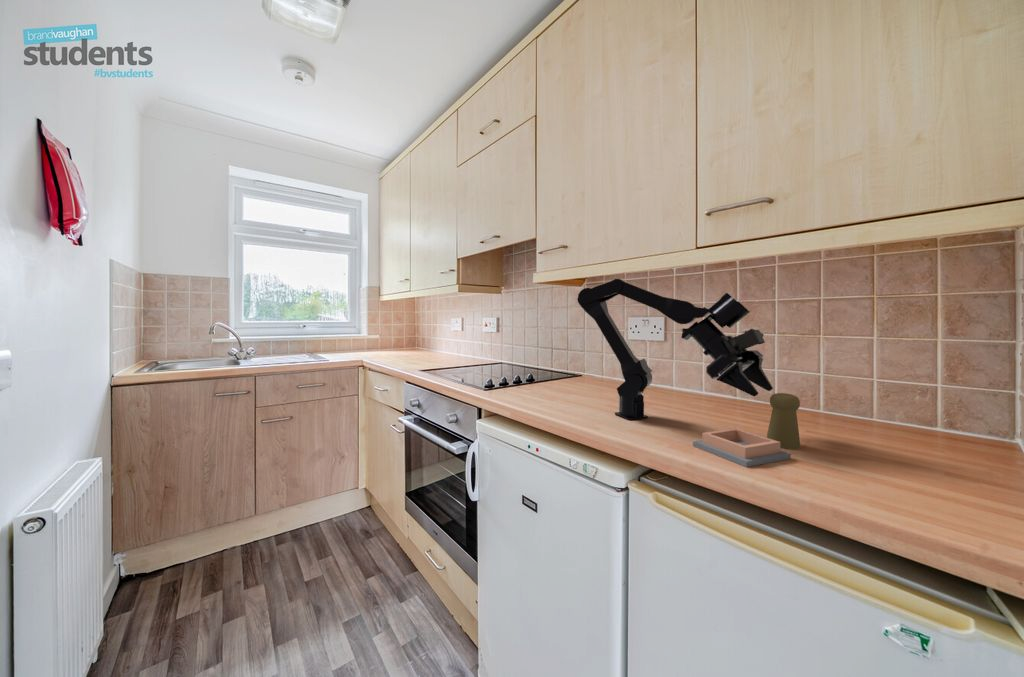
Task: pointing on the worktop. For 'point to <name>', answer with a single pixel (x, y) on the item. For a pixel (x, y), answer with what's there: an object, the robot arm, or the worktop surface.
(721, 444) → the stand
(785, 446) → the olive pepper mill
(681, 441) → the worktop surface
